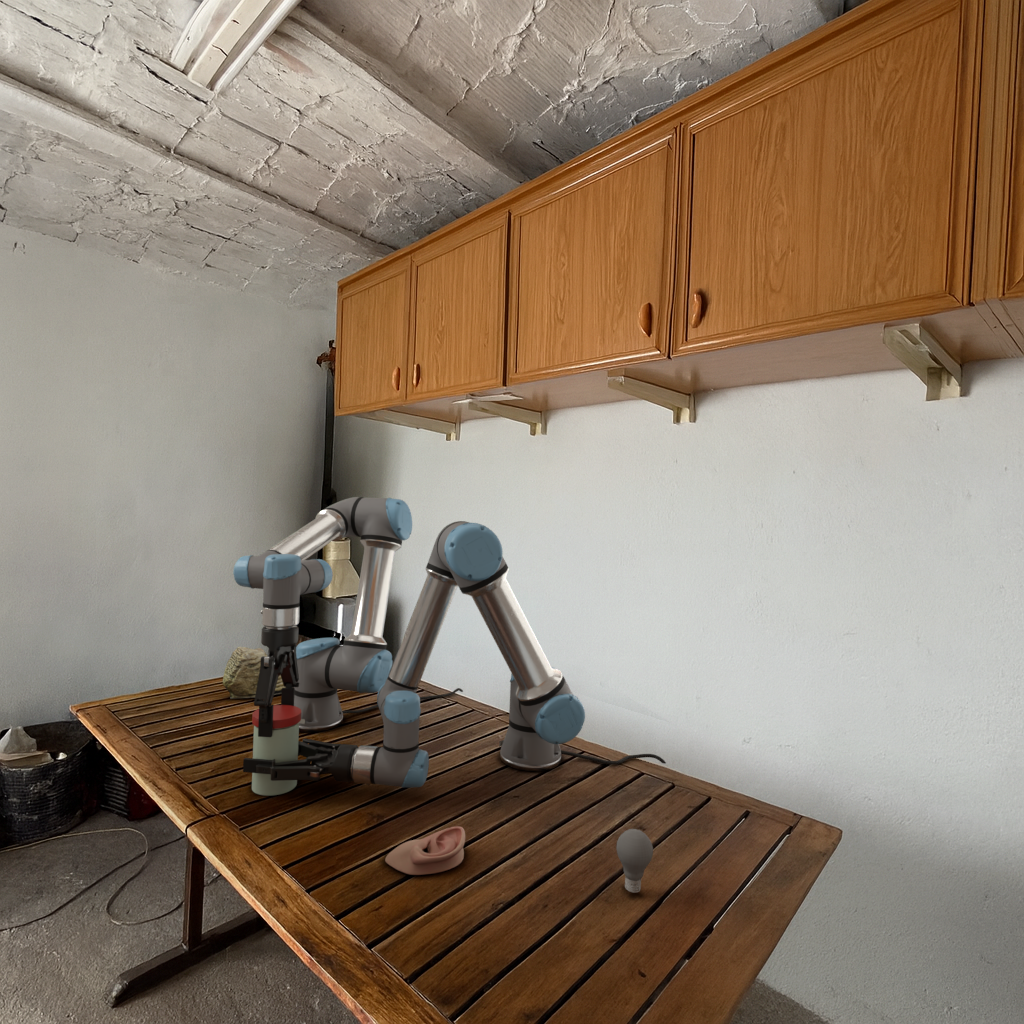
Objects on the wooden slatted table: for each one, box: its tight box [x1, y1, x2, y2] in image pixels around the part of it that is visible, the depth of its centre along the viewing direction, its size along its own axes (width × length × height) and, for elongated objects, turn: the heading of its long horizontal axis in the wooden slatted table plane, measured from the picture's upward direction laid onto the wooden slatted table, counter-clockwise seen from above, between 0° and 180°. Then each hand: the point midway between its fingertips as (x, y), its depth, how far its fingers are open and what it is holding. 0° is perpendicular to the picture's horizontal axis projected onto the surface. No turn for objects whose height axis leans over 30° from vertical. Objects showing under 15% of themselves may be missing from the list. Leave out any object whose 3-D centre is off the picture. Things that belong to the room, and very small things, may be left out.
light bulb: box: [615, 828, 654, 894], centre depth 106 cm, size 6×6×10 cm
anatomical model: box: [384, 826, 466, 876], centre depth 113 cm, size 13×4×12 cm
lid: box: [251, 704, 301, 729], centre depth 138 cm, size 10×10×2 cm
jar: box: [251, 723, 300, 797], centre depth 138 cm, size 9×9×16 cm
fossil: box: [222, 646, 286, 699], centre depth 198 cm, size 9×18×15 cm, turn 132°
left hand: (276, 726), depth 138 cm, fingers open, 11 cm apart
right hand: (255, 755), depth 138 cm, fingers closed on jar, 9 cm apart
